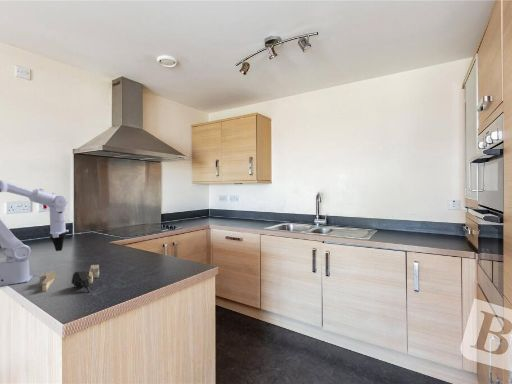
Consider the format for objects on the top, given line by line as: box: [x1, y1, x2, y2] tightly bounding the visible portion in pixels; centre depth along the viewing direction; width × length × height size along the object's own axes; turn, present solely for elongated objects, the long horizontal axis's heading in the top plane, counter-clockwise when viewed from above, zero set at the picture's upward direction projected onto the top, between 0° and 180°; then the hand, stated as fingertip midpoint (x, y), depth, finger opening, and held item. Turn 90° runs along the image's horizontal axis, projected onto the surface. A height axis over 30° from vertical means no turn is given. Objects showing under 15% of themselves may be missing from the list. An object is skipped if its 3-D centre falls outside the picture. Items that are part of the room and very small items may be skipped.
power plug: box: [71, 269, 91, 293], centre depth 103 cm, size 6×8×12 cm
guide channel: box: [39, 264, 100, 293], centre depth 112 cm, size 20×18×4 cm
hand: (58, 250), depth 126 cm, fingers closed
